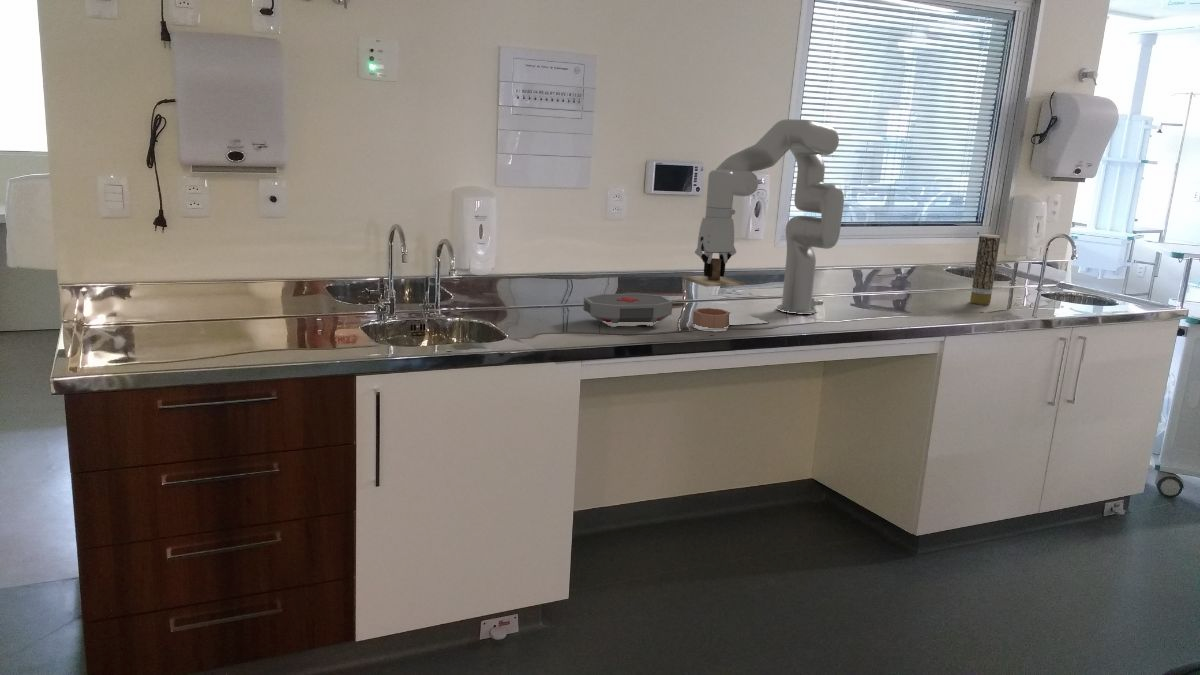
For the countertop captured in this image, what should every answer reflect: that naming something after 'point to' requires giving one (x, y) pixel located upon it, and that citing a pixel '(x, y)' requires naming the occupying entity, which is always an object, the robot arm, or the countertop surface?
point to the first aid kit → (628, 307)
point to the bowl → (711, 317)
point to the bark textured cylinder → (985, 269)
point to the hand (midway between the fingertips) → (713, 275)
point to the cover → (714, 277)
